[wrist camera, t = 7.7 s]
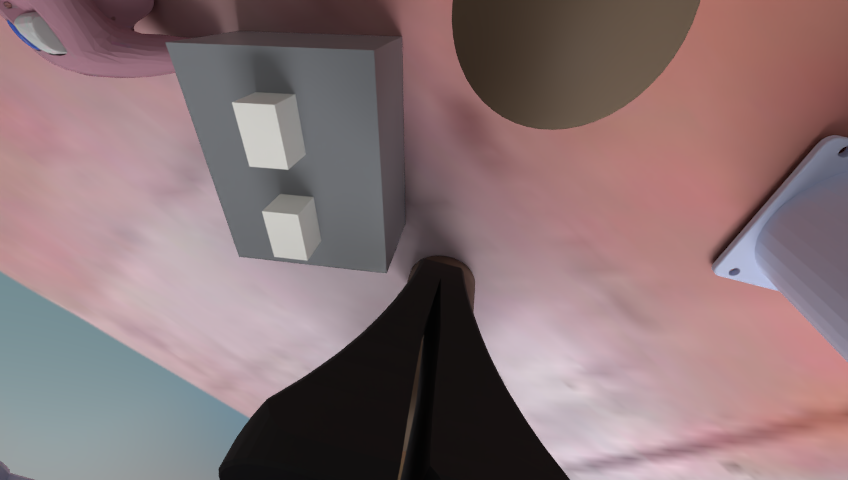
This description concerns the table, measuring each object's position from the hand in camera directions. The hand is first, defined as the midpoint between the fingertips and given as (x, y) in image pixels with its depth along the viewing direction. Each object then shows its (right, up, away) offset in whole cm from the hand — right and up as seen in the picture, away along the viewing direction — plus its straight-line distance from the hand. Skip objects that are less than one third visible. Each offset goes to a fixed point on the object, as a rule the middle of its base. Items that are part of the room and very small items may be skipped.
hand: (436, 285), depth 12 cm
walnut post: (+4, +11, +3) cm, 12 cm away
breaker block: (-5, +7, +8) cm, 12 cm away
